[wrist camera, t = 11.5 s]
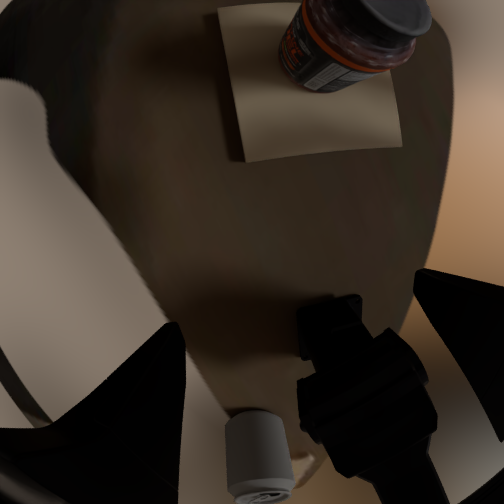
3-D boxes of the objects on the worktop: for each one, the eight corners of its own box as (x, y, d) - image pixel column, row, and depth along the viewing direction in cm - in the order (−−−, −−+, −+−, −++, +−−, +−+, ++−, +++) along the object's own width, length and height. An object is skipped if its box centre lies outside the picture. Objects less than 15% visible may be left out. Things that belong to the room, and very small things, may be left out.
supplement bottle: (269, 28, 15) (309, -65, 4) (343, 30, 15) (425, -33, 4) (282, 97, 17) (346, 41, 6) (357, 96, 17) (462, 67, 7)
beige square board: (394, 146, 20) (402, 146, 19) (245, 162, 20) (246, 162, 19) (366, 14, 15) (371, 10, 14) (217, 14, 15) (217, 8, 14)
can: (292, 419, 31) (311, 495, 20) (250, 440, 32) (258, 510, 21) (256, 398, 29) (269, 487, 18) (212, 422, 30) (213, 501, 19)
